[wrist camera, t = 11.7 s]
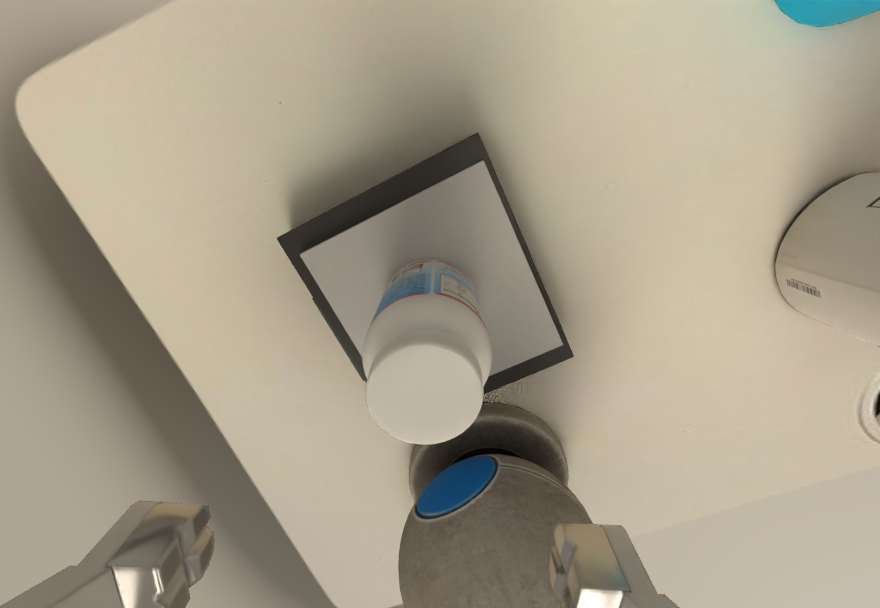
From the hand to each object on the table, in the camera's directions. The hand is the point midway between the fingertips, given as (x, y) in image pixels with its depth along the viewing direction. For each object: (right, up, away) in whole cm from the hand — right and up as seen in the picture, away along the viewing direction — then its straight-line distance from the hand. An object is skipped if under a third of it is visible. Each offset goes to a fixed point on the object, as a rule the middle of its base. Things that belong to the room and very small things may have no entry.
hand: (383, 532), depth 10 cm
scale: (+1, +6, +20) cm, 21 cm away
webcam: (+5, -8, +25) cm, 27 cm away
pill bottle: (+1, +5, +17) cm, 18 cm away
